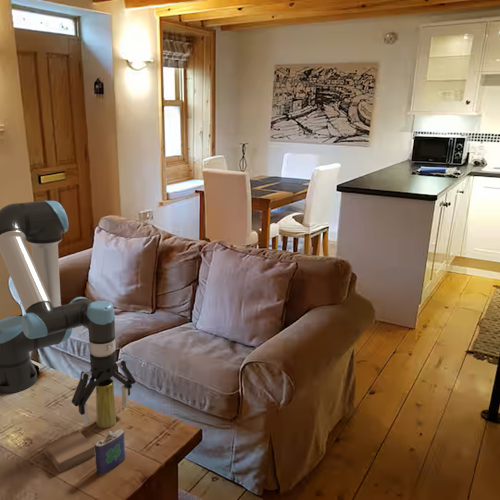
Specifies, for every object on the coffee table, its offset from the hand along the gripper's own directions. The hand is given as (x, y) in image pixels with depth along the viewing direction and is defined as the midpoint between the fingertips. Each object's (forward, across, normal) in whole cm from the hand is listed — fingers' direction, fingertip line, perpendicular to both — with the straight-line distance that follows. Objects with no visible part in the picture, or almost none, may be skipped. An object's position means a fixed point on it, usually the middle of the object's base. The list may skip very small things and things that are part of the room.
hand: (105, 413), depth 149 cm
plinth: (+3, -15, -7) cm, 17 cm away
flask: (+4, -8, -19) cm, 21 cm away
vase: (+3, 0, 0) cm, 3 cm away
